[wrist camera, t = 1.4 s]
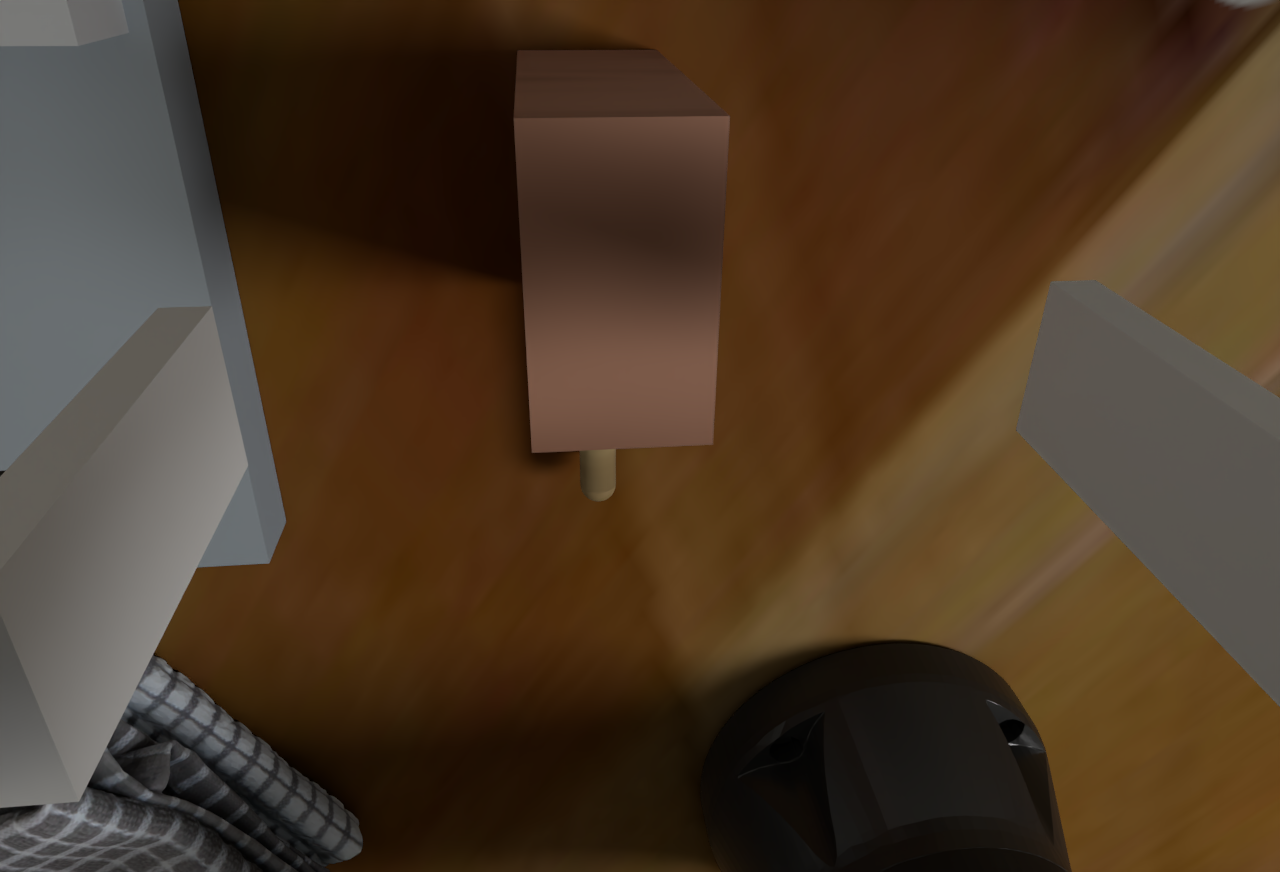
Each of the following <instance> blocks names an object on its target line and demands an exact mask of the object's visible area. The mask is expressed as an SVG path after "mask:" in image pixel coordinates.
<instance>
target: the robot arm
mask: <svg viewBox="0 0 1280 872" xmlns="http://www.w3.org/2000/svg"><path fill="white" fill-rule="evenodd" d="M1016 431H1017V432H1018V433H1019V434H1020V435H1021V436H1022V437H1023V438H1024V439H1025V440H1026V441H1027V442H1028V443H1029V444H1030V445H1031V447H1032V448H1033V449H1034V450H1035V451H1036V452H1037V453H1038V454H1039V455H1040V456H1041V457H1042V458H1043V459H1044V460H1045V461H1046V462H1047V463H1048V464H1049V465H1050V466H1051V467H1052V469H1053V470H1054V471H1055V472H1056V473H1057V474H1058V475H1059V476H1060V477H1061V478H1062V479H1063V480H1064V481H1065V482H1066V483H1067V484H1068V485H1069V486H1070V487H1071V488H1072V489H1073V491H1074V492H1075V493H1076V494H1077V495H1078V496H1079V497H1080V498H1081V499H1082V500H1083V501H1084V502H1085V503H1086V504H1087V505H1088V506H1089V507H1090V508H1091V509H1092V510H1093V512H1094V513H1095V514H1096V515H1097V516H1098V517H1099V518H1100V519H1101V520H1102V521H1103V522H1104V523H1105V524H1106V525H1107V526H1108V527H1109V528H1110V529H1111V530H1112V531H1113V532H1114V534H1115V535H1116V536H1117V537H1118V538H1119V539H1120V540H1121V541H1122V542H1123V543H1124V544H1125V545H1126V546H1127V547H1128V548H1129V549H1130V550H1131V551H1132V552H1133V553H1134V554H1135V556H1136V557H1137V558H1138V559H1139V560H1140V561H1141V562H1142V563H1143V564H1144V565H1145V566H1146V567H1147V568H1148V569H1149V570H1150V571H1151V572H1152V573H1153V574H1154V575H1155V577H1156V578H1157V579H1158V580H1159V581H1160V582H1161V583H1162V584H1163V585H1164V586H1165V587H1166V588H1167V589H1168V590H1169V591H1170V592H1171V593H1172V594H1173V595H1174V596H1175V597H1176V599H1177V600H1178V601H1179V602H1180V603H1181V604H1182V605H1183V606H1184V607H1185V608H1186V609H1187V610H1188V611H1189V612H1190V613H1191V614H1192V615H1193V616H1194V617H1195V618H1196V619H1197V621H1198V622H1199V623H1200V624H1201V625H1202V626H1203V627H1204V628H1205V629H1206V630H1207V631H1208V632H1209V633H1210V634H1211V635H1212V636H1213V637H1214V638H1215V639H1216V640H1217V642H1218V643H1219V644H1220V645H1221V646H1222V647H1223V648H1224V649H1225V650H1226V651H1227V652H1228V653H1229V654H1230V655H1231V656H1232V657H1233V658H1234V659H1235V660H1236V661H1237V662H1238V664H1239V665H1240V666H1241V667H1242V668H1243V669H1244V670H1245V671H1246V672H1247V673H1248V674H1249V675H1250V676H1251V677H1252V678H1253V679H1254V680H1255V681H1256V682H1257V683H1258V684H1259V686H1260V687H1261V688H1262V689H1263V690H1264V691H1265V692H1266V693H1267V694H1268V695H1269V696H1270V697H1271V698H1272V699H1273V700H1274V701H1275V702H1276V703H1277V704H1278V705H1279V707H1280V398H1279V397H1277V396H1276V395H1274V394H1273V393H1271V392H1269V391H1268V390H1266V389H1265V388H1263V387H1262V386H1260V385H1258V384H1257V383H1255V382H1254V381H1252V380H1251V379H1249V378H1247V377H1246V376H1244V375H1243V374H1241V373H1240V372H1238V371H1237V370H1235V369H1233V368H1232V367H1230V366H1229V365H1227V364H1226V363H1224V362H1222V361H1221V360H1219V359H1218V358H1216V357H1215V356H1213V355H1212V354H1210V353H1208V352H1207V351H1205V350H1204V349H1202V348H1201V347H1199V346H1197V345H1196V344H1194V343H1193V342H1191V341H1190V340H1188V339H1187V338H1185V337H1183V336H1182V335H1180V334H1179V333H1177V332H1176V331H1174V330H1172V329H1171V328H1169V327H1168V326H1166V325H1165V324H1163V323H1161V322H1160V321H1158V320H1157V319H1155V318H1154V317H1152V316H1151V315H1149V314H1147V313H1146V312H1144V311H1143V310H1141V309H1140V308H1138V307H1136V306H1135V305H1133V304H1132V303H1130V302H1129V301H1127V300H1126V299H1124V298H1122V297H1121V296H1119V295H1118V294H1116V293H1115V292H1113V291H1111V290H1110V289H1108V288H1107V287H1105V286H1104V285H1102V284H1100V283H1099V282H1097V281H1096V280H1089V281H1055V282H1051V283H1050V288H1049V292H1048V296H1047V300H1046V305H1045V309H1044V313H1043V317H1042V322H1041V326H1040V330H1039V334H1038V338H1037V343H1036V347H1035V351H1034V355H1033V360H1032V364H1031V368H1030V372H1029V377H1028V381H1027V385H1026V389H1025V394H1024V398H1023V402H1022V406H1021V411H1020V415H1019V419H1018V423H1017V428H1016ZM247 467H248V462H247V457H246V453H245V449H244V444H243V440H242V435H241V431H240V427H239V422H238V418H237V414H236V409H235V405H234V400H233V396H232V392H231V387H230V383H229V379H228V374H227V370H226V366H225V361H224V357H223V352H222V348H221V344H220V339H219V335H218V331H217V326H216V322H215V318H214V313H213V309H212V306H204V307H170V308H158V309H157V310H156V311H155V312H154V313H153V314H152V315H151V316H150V317H149V318H148V319H147V320H146V321H145V322H144V323H143V325H142V326H141V327H140V328H139V329H138V330H137V331H136V332H135V333H134V334H133V335H132V336H131V337H130V338H129V340H128V341H127V342H126V343H125V344H124V345H123V346H122V347H121V348H120V349H119V350H118V351H117V352H116V353H115V354H114V356H113V357H112V358H111V359H110V360H109V361H108V362H107V363H106V364H105V365H104V366H103V367H102V368H101V369H100V371H99V372H98V373H97V374H96V375H95V376H94V377H93V378H92V379H91V380H90V381H89V382H88V383H87V384H86V385H85V387H84V388H83V389H82V390H81V391H80V392H79V393H78V394H77V395H76V396H75V397H74V398H73V399H72V400H71V402H70V403H69V404H68V405H67V406H66V407H65V408H64V409H63V410H62V411H61V412H60V413H59V414H58V415H57V416H56V418H55V419H54V420H53V421H52V422H51V423H50V424H49V425H48V426H47V427H46V428H45V429H44V430H43V431H42V433H41V434H40V435H39V436H38V437H37V438H36V439H35V440H34V441H33V442H32V443H31V444H30V445H29V446H28V447H27V449H26V450H25V451H24V452H23V453H22V454H21V455H20V456H19V457H18V458H17V459H16V460H15V461H14V462H13V464H12V465H11V466H10V467H9V468H8V469H7V470H6V471H0V808H5V807H17V806H30V805H43V804H56V803H68V802H79V801H80V799H81V797H82V795H83V793H84V791H85V789H86V787H87V785H88V783H89V781H90V779H91V777H92V775H93V773H94V771H95V769H96V767H97V765H98V763H99V761H100V759H101V757H102V755H103V753H104V751H105V749H106V747H107V745H108V743H109V741H110V739H111V737H112V735H113V733H114V731H115V729H116V727H117V725H118V723H119V721H120V719H121V717H122V715H123V713H124V711H125V709H126V707H127V705H128V703H129V701H130V699H131V697H132V695H133V693H134V691H135V689H136V687H137V685H138V683H139V681H140V679H141V677H142V675H143V673H144V671H145V669H146V667H147V665H148V663H149V662H150V660H151V658H152V656H153V654H154V652H155V650H156V648H157V646H158V644H159V642H160V640H161V638H162V636H163V634H164V632H165V630H166V628H167V626H168V624H169V622H170V620H171V618H172V616H173V614H174V612H175V610H176V608H177V606H178V604H179V602H180V600H181V598H182V596H183V594H184V592H185V590H186V588H187V586H188V584H189V582H190V580H191V578H192V576H193V574H194V572H195V570H196V568H197V566H198V564H199V562H200V560H201V558H202V556H203V554H204V552H205V550H206V548H207V546H208V544H209V542H210V540H211V538H212V536H213V534H214V532H215V530H216V528H217V526H218V524H219V522H220V521H221V519H222V517H223V515H224V513H225V511H226V509H227V507H228V505H229V503H230V501H231V499H232V497H233V495H234V493H235V491H236V489H237V487H238V485H239V483H240V481H241V479H242V477H243V475H244V473H245V471H246V469H247ZM700 796H701V804H702V809H703V814H704V819H705V823H706V828H707V833H708V838H709V843H710V846H711V849H712V852H713V855H714V857H715V860H716V862H717V864H718V866H719V868H720V870H721V872H1072V871H1071V867H1070V863H1069V858H1068V853H1067V848H1066V843H1065V839H1064V834H1063V829H1062V824H1061V820H1060V815H1059V810H1058V805H1057V801H1056V796H1055V791H1054V786H1053V782H1052V777H1051V772H1050V767H1049V763H1048V758H1047V754H1046V750H1045V747H1044V744H1043V742H1042V739H1041V737H1040V734H1039V732H1038V730H1037V728H1036V726H1035V725H1034V723H1033V721H1032V720H1031V718H1030V717H1029V715H1028V713H1027V712H1026V710H1025V709H1024V707H1023V706H1022V704H1021V702H1020V701H1019V699H1018V698H1017V696H1016V695H1015V693H1014V692H1013V690H1012V689H1011V687H1010V686H1009V685H1008V684H1007V683H1006V681H1005V680H1004V679H1003V678H1002V677H1001V676H999V675H998V674H997V673H996V672H995V671H994V670H992V669H991V668H989V667H988V666H987V665H985V664H983V663H982V662H980V661H978V660H976V659H974V658H972V657H970V656H967V655H965V654H962V653H960V652H956V651H953V650H950V649H946V648H941V647H937V646H930V645H922V644H904V643H898V644H881V645H872V646H865V647H859V648H855V649H850V650H846V651H842V652H838V653H835V654H832V655H829V656H825V657H822V658H820V659H817V660H815V661H812V662H810V663H807V664H805V665H803V666H801V667H798V668H796V669H794V670H792V671H791V672H789V673H787V674H785V675H783V676H781V677H780V678H778V679H777V680H775V681H773V682H772V683H770V684H769V685H767V686H766V687H764V688H763V689H762V690H760V691H759V692H758V693H756V694H755V695H754V696H753V697H751V698H750V699H749V700H748V701H747V702H746V703H745V704H744V705H743V706H742V707H741V708H740V709H739V710H738V711H737V712H736V713H735V714H734V715H733V716H732V717H731V718H730V719H729V721H728V722H727V723H726V724H725V726H724V727H723V728H722V730H721V731H720V733H719V734H718V736H717V737H716V739H715V741H714V743H713V745H712V746H711V748H710V751H709V753H708V755H707V758H706V761H705V764H704V767H703V771H702V776H701V785H700Z"/></svg>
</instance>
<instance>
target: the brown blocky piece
mask: <svg viewBox="0 0 1280 872" xmlns="http://www.w3.org/2000/svg"><path fill="white" fill-rule="evenodd" d="M729 124H730V116H729V115H728V114H727V113H726V112H725V111H724V110H723V109H722V108H720V107H719V106H718V105H717V104H716V103H715V102H714V101H713V100H712V99H711V98H709V97H708V96H707V95H706V94H705V93H704V92H703V91H702V90H701V89H699V88H698V87H697V86H696V85H695V84H694V83H693V82H692V81H691V80H690V79H688V78H687V77H686V76H685V75H684V74H683V73H682V72H681V71H680V70H678V69H677V68H676V67H675V66H674V65H673V64H672V63H671V62H670V61H668V60H667V59H666V58H665V57H664V56H663V55H662V54H661V53H660V52H659V51H657V50H517V68H516V85H515V103H514V134H515V153H516V171H517V189H518V208H519V226H520V244H521V263H522V281H523V299H524V318H525V336H526V354H527V372H528V391H529V409H530V427H531V446H532V453H541V452H563V451H580V482H581V489H582V492H583V493H584V495H585V496H586V497H587V498H589V499H591V500H593V501H603V500H606V499H608V498H609V497H610V496H611V495H612V494H613V492H614V490H615V487H616V449H627V448H649V447H671V446H692V445H713V432H714V413H715V394H716V374H717V355H718V336H719V317H720V297H721V278H722V259H723V240H724V221H725V201H726V182H727V163H728V144H729Z"/></svg>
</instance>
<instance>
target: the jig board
mask: <svg viewBox="0 0 1280 872" xmlns="http://www.w3.org/2000/svg"><path fill="white" fill-rule="evenodd" d="M204 306H212V309H213V313H214V318H215V322H216V326H217V331H218V335H219V339H220V344H221V348H222V352H223V357H224V361H225V366H226V370H227V374H228V379H229V383H230V387H231V392H232V396H233V400H234V405H235V409H236V414H237V418H238V422H239V427H240V431H241V435H242V440H243V444H244V449H245V453H246V457H247V462H248V467H247V469H246V471H245V473H244V475H243V477H242V479H241V481H240V483H239V485H238V487H237V489H236V491H235V493H234V495H233V497H232V499H231V501H230V503H229V505H228V507H227V509H226V511H225V513H224V515H223V517H222V519H221V521H220V522H219V524H218V526H217V528H216V530H215V532H214V534H213V536H212V538H211V540H210V542H209V544H208V546H207V548H206V550H205V552H204V554H203V556H202V558H201V560H200V562H199V564H198V566H197V567H212V566H230V565H247V564H265V563H270V560H271V558H272V555H273V553H274V550H275V548H276V545H277V543H278V540H279V538H280V535H281V533H282V531H283V528H284V526H285V523H286V518H285V513H284V508H283V504H282V499H281V494H280V489H279V484H278V480H277V475H276V470H275V465H274V460H273V456H272V451H271V446H270V441H269V436H268V432H267V427H266V422H265V417H264V412H263V408H262V403H261V398H260V393H259V388H258V384H257V379H256V374H255V369H254V364H253V359H252V355H251V350H250V345H249V340H248V335H247V331H246V326H245V321H244V316H243V311H242V307H241V302H240V297H239V292H238V287H237V283H236V278H235V273H234V268H233V263H232V259H231V254H230V249H229V244H228V239H227V235H226V230H225V225H224V220H223V215H222V211H221V206H220V201H219V196H218V191H217V187H216V182H215V177H214V172H213V167H212V163H211V158H210V153H209V148H208V143H207V139H206V134H205V129H204V124H203V119H202V115H201V110H200V105H199V100H198V95H197V90H196V86H195V81H194V76H193V71H192V66H191V62H190V57H189V52H188V47H187V42H186V38H185V33H184V28H183V23H182V18H181V14H180V9H179V4H178V0H0V471H6V470H7V469H8V468H9V467H10V466H11V465H12V464H13V462H14V461H15V460H16V459H17V458H18V457H19V456H20V455H21V454H22V453H23V452H24V451H25V450H26V449H27V447H28V446H29V445H30V444H31V443H32V442H33V441H34V440H35V439H36V438H37V437H38V436H39V435H40V434H41V433H42V431H43V430H44V429H45V428H46V427H47V426H48V425H49V424H50V423H51V422H52V421H53V420H54V419H55V418H56V416H57V415H58V414H59V413H60V412H61V411H62V410H63V409H64V408H65V407H66V406H67V405H68V404H69V403H70V402H71V400H72V399H73V398H74V397H75V396H76V395H77V394H78V393H79V392H80V391H81V390H82V389H83V388H84V387H85V385H86V384H87V383H88V382H89V381H90V380H91V379H92V378H93V377H94V376H95V375H96V374H97V373H98V372H99V371H100V369H101V368H102V367H103V366H104V365H105V364H106V363H107V362H108V361H109V360H110V359H111V358H112V357H113V356H114V354H115V353H116V352H117V351H118V350H119V349H120V348H121V347H122V346H123V345H124V344H125V343H126V342H127V341H128V340H129V338H130V337H131V336H132V335H133V334H134V333H135V332H136V331H137V330H138V329H139V328H140V327H141V326H142V325H143V323H144V322H145V321H146V320H147V319H148V318H149V317H150V316H151V315H152V314H153V313H154V312H155V311H156V310H157V309H158V308H170V307H204Z"/></svg>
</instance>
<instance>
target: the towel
mask: <svg viewBox="0 0 1280 872" xmlns="http://www.w3.org/2000/svg"><path fill="white" fill-rule="evenodd" d="M358 827H359V821H358V819H357V818H356V817H355V816H354V814H353V813H351V812H350V811H348V810H347V809H344V805H343V804H342V803H341V802H340V801H339V800H338V799H337V798H335V797H333V796H330V795H328V794H327V792H326V790H324V789H322V788H321V787H320V786H319V784H317V783H315V782H311V781H309V779H308V778H307V777H304V776H303V775H302V774H301V773H300V772H298V771H297V770H296V769H294V768H292V767H290V766H289V765H288V763H287V762H286V761H285V760H284V759H283V758H281V757H279V756H278V754H277V753H276V752H275V751H272V749H271V747H270V746H269V745H268V744H267V743H266V742H265V741H263V740H262V739H261V738H260V737H256V736H254V735H253V734H252V732H251V731H250V730H249V729H248V728H247V727H246V726H245V725H244V724H242V723H241V722H235V721H234V720H233V718H232V717H230V716H229V715H228V714H227V713H226V711H225V710H224V709H222V708H221V707H220V706H218V705H216V704H215V703H214V701H213V700H212V699H211V698H210V697H209V696H208V695H207V694H206V693H205V692H204V691H203V690H202V689H200V688H198V687H195V685H194V683H192V682H191V681H190V680H189V679H188V677H186V676H185V675H183V674H182V673H180V672H175V671H173V670H172V668H171V667H170V666H169V665H168V664H167V662H166V661H165V660H164V659H162V658H160V657H156V656H154V655H153V656H152V658H151V660H150V662H149V663H148V665H147V667H146V669H145V671H144V673H143V675H142V677H141V679H140V681H139V683H138V685H137V687H136V689H135V691H134V693H133V695H132V697H131V699H130V701H129V703H128V705H127V707H126V709H125V711H124V713H123V715H122V717H121V719H120V721H119V723H118V725H117V727H116V729H115V731H114V733H113V735H112V737H111V739H110V741H109V743H108V745H107V747H106V749H105V751H104V753H103V755H102V757H101V759H100V761H99V763H98V765H97V767H96V769H95V771H94V773H93V775H92V777H91V779H90V781H89V783H88V785H87V787H86V789H85V791H84V793H83V795H82V797H81V799H80V801H79V802H68V803H56V804H43V805H30V806H17V807H5V808H0V872H330V871H329V869H326V868H325V867H324V866H327V865H328V864H329V863H331V864H334V863H337V862H342V861H344V860H348V859H351V858H353V857H354V856H356V855H357V854H359V853H360V852H361V850H362V847H363V839H362V835H361V832H360V829H359V828H358Z"/></svg>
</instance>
